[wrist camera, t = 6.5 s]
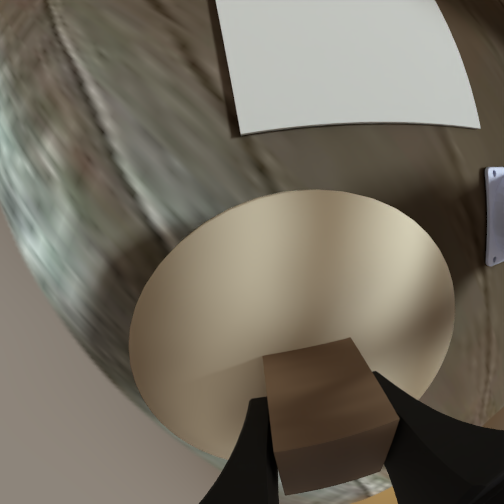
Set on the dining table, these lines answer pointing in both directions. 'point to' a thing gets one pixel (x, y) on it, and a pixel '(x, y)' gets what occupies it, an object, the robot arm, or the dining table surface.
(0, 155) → the dining table surface
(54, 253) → the dining table surface
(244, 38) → the mat
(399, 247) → the lid
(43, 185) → the dining table surface
